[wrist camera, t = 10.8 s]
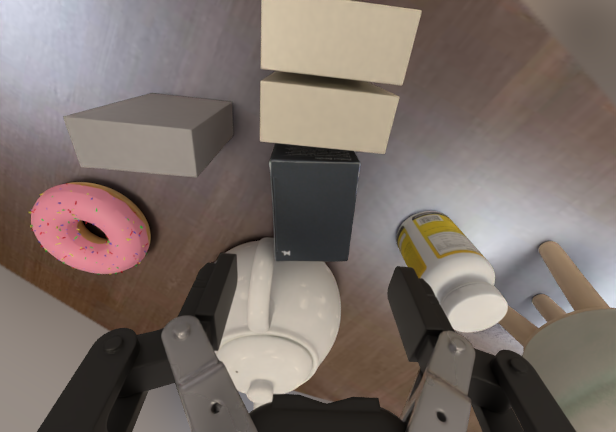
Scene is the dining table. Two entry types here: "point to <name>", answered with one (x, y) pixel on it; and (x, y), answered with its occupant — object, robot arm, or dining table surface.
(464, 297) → the pill bottle
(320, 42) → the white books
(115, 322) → the dining table surface
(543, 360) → the planter
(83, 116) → the grey books
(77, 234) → the doughnut
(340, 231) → the box
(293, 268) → the teapot
